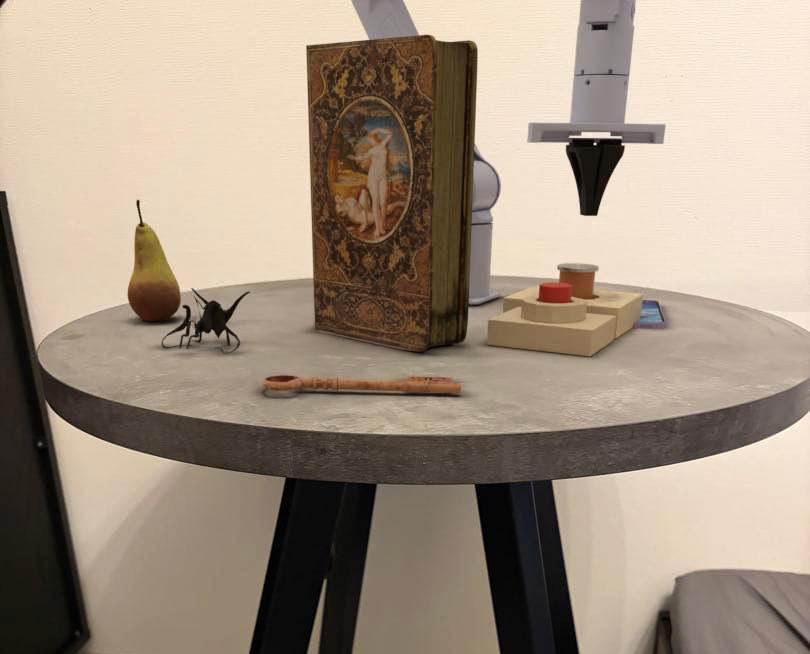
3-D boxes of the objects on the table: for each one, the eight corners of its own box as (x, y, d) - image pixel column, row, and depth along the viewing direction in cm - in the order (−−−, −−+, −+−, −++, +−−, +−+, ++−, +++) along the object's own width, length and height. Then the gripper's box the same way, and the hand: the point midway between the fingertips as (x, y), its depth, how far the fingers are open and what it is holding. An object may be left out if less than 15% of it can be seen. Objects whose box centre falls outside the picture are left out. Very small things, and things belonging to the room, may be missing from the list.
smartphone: (594, 321, 91) (595, 299, 105) (593, 330, 92) (595, 307, 105) (667, 323, 90) (658, 300, 103) (666, 332, 90) (658, 308, 104)
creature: (226, 370, 76) (266, 334, 82) (215, 312, 73) (256, 278, 79) (149, 363, 78) (193, 328, 84) (134, 306, 75) (181, 273, 81)
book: (306, 329, 88) (297, 46, 77) (346, 322, 91) (341, 51, 81) (428, 355, 78) (435, 33, 67) (466, 346, 81) (479, 39, 71)
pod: (549, 326, 90) (554, 267, 88) (556, 320, 94) (561, 262, 92) (589, 329, 89) (595, 269, 87) (595, 322, 93) (601, 264, 90)
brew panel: (486, 344, 82) (489, 301, 80) (516, 330, 88) (519, 290, 87) (590, 356, 78) (594, 311, 76) (613, 340, 84) (618, 298, 83)
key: (459, 385, 69) (272, 379, 70) (460, 374, 69) (272, 368, 69) (460, 399, 64) (257, 392, 64) (461, 386, 63) (257, 379, 64)
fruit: (196, 319, 92) (185, 197, 87) (152, 327, 88) (138, 200, 83) (161, 313, 95) (149, 195, 90) (117, 320, 91) (102, 197, 86)
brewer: (501, 327, 90) (503, 297, 89) (534, 312, 98) (536, 284, 97) (616, 339, 85) (619, 307, 84) (640, 322, 93) (643, 293, 92)
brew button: (533, 304, 81) (535, 285, 80) (544, 300, 83) (545, 281, 83) (564, 307, 80) (566, 288, 79) (574, 302, 82) (576, 283, 81)
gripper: (654, 80, 95) (639, 212, 101) (524, 78, 93) (516, 212, 99) (679, 76, 89) (661, 217, 94) (540, 73, 87) (531, 217, 93)
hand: (588, 215), depth 96 cm, fingers closed
